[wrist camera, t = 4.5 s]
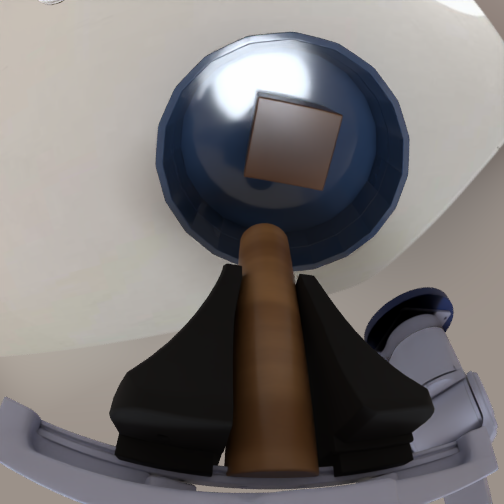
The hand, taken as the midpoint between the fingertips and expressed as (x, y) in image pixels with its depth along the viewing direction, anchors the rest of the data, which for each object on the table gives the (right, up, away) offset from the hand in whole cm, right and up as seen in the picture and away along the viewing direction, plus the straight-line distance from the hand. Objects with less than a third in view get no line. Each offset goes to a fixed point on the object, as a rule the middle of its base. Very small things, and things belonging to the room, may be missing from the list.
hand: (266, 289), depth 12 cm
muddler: (0, +2, +3) cm, 3 cm away
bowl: (+1, +8, +5) cm, 10 cm away
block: (+1, +9, +4) cm, 10 cm away
